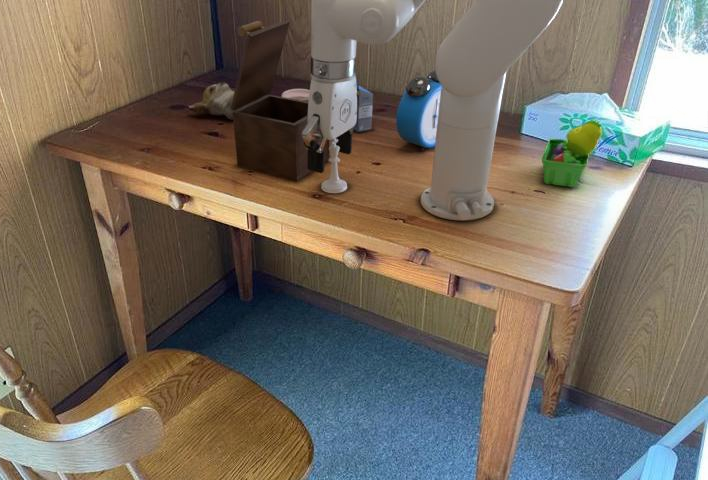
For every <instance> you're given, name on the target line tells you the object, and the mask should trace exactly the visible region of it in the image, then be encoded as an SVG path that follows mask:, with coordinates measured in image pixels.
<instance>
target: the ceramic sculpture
mask: <svg viewBox="0 0 708 480" xmlns="http://www.w3.org/2000/svg"><path fill="white" fill-rule="evenodd" d="M234 92H235V90H232V89H231V88H230V85H229V84H228V83H227V82H225V81H222V80H217V81H216V83H214V84H211V85H208V86H207V87H206V88H205V89H204V91H203V94H202V101H200V102H195V103H193V104H190V105H189V104H188V105H185V107H186V108H187V109H188V110H189V111H191V112H193V113H196V114H198V115H205V114H206V115H207V114H210V115H212V116H225V117H226V118H227V119H228V120H231V121H233V112H234V111H236V110H238V109H240V108H242V107H244V106H242V107H240V108H238V109H236V110H234V111H233V110H232V109H231V105H232V101H233V96H234Z"/></svg>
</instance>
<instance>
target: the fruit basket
mask: <svg viewBox="0 0 708 480" xmlns="http://www.w3.org/2000/svg"><path fill="white" fill-rule="evenodd" d="M602 135H603V129H602V124H601V122H600V121H598V120H596V119H590V120H588V121H587V122H585V123H584V124H583V125H581V126H577V127H575V128H572V129H571V130H570V131H568V133H567V134H566V139H561V138H550V139H548V141H547V143H546V146H545V149H544V152H543V155H542V157H541V162H542V167H543V181H544V182H543V183H544V184H546V185H547V184H549V185H550V184H551V185H554V186H560V187H569V188H574V187H575V186H576V183H577V182H578V180H579V178H580V176H581V175H582V172H583V171H584V170H585V168H586V167H587V165H588V161H589V157H590V155H591V154H592V153H593V152H594V151H595V150H596V148H597V146H598V144H599V141H600V138H601V137H602Z"/></svg>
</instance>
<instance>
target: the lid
mask: <svg viewBox="0 0 708 480" xmlns="http://www.w3.org/2000/svg"><path fill="white" fill-rule="evenodd" d="M290 24H291V21H290V20H287V19H286V20H283V21H280V22H278V23H275V24H272V25H269V26H266V27H264V23H263V22H262V21H261V20H256V21H253V22H251V23H247V24H244V25H241V26H239V27H238V28H237V33H238V36H240V37H241V38H245V37H246V40H245V44H244V49H243V53H242V58H241V63H240V66H239V71H238V75H237V81H236V84H235V88H234V91H235V92H234V96H233V101H232V105H231V109H232V110H233V111H234V110H236V109H238V108H240V107H242V106H246V105H249V104H251V103H253V102H255V101H257V100H259V99H261V98H263V97H265V96H267V95H271V92H272V89H273V85H274V81H275V78H276V74H277V70H278V67H279V63H280V60H281V56H282V52H283V49H284V45H285V41H286V38H287V34H288V30H289V26H290Z"/></svg>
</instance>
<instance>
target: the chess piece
mask: <svg viewBox="0 0 708 480" xmlns="http://www.w3.org/2000/svg"><path fill="white" fill-rule="evenodd" d="M336 142H338V139H336V138H335V139H333V140H330V147H329V151H330V156H331V157H330V158H329V160H328V162H329V163H331V164H330V166H331V167H330V175H329V177H328V178H327V179H325V180H324V181H322V183H321V187H320V188H321V190H322V191H323V192H325V193H329V194H341V193H343V192H345V191H347V189H348V183H347V182H346V181H345V180H344V179H341V178H340V177H339V171H338V163H339V162H341V158H340V157H339V156H338V155H339V153H340V152H339V150H340V147H339V146H337V145H336Z"/></svg>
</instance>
